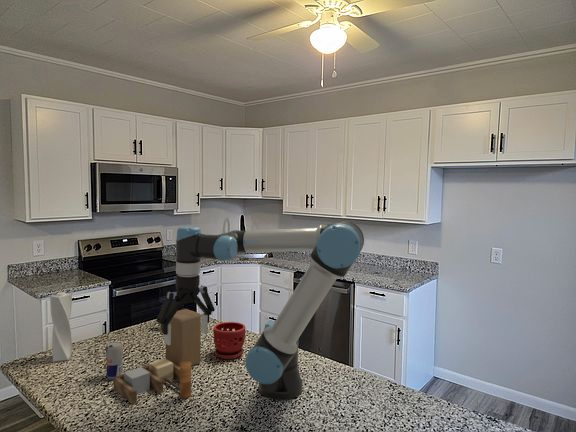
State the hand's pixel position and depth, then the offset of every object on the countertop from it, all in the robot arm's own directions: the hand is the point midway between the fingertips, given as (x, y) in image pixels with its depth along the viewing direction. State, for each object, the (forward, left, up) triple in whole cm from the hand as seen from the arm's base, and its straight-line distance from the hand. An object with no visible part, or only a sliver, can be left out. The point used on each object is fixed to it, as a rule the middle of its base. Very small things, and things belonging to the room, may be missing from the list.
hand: (186, 338), depth 126 cm
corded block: (+8, +1, -19) cm, 21 cm away
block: (+15, +10, -19) cm, 26 cm away
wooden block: (+21, -12, -19) cm, 31 cm away
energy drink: (+29, +11, -19) cm, 36 cm away
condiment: (+59, -27, -19) cm, 67 cm away
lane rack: (+14, +5, -19) cm, 24 cm away
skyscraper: (+58, +19, -19) cm, 64 cm away
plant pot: (+15, -30, -19) cm, 38 cm away
